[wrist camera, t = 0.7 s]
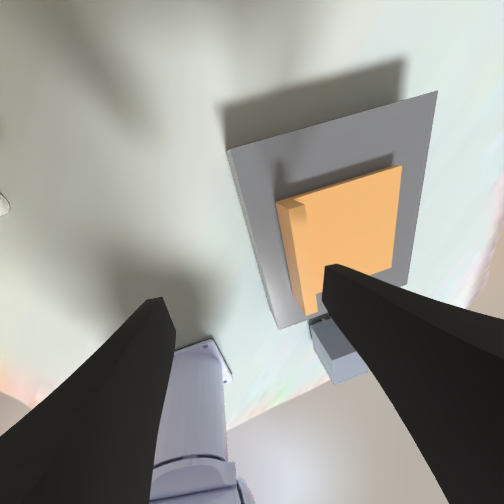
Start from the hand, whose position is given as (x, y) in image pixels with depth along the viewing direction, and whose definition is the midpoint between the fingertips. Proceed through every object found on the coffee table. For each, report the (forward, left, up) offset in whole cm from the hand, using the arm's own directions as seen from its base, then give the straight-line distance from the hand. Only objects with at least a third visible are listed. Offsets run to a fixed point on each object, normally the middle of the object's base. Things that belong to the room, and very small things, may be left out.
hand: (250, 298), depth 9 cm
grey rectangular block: (+8, -16, -9) cm, 20 cm away
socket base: (+9, -2, -9) cm, 13 cm away
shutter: (+8, -2, -6) cm, 10 cm away
